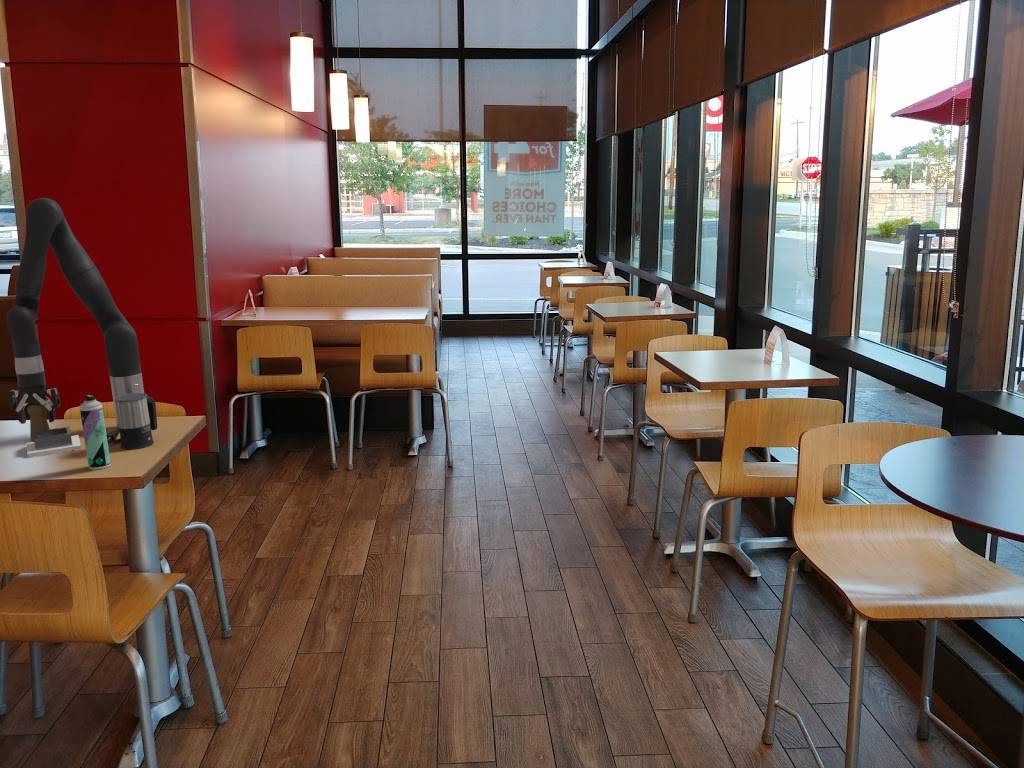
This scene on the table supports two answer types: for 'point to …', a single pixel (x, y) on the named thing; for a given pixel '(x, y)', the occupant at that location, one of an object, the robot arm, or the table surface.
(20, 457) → the table surface
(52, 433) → the socket collar
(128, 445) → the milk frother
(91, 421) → the spray can
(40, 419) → the cork
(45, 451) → the socket base
